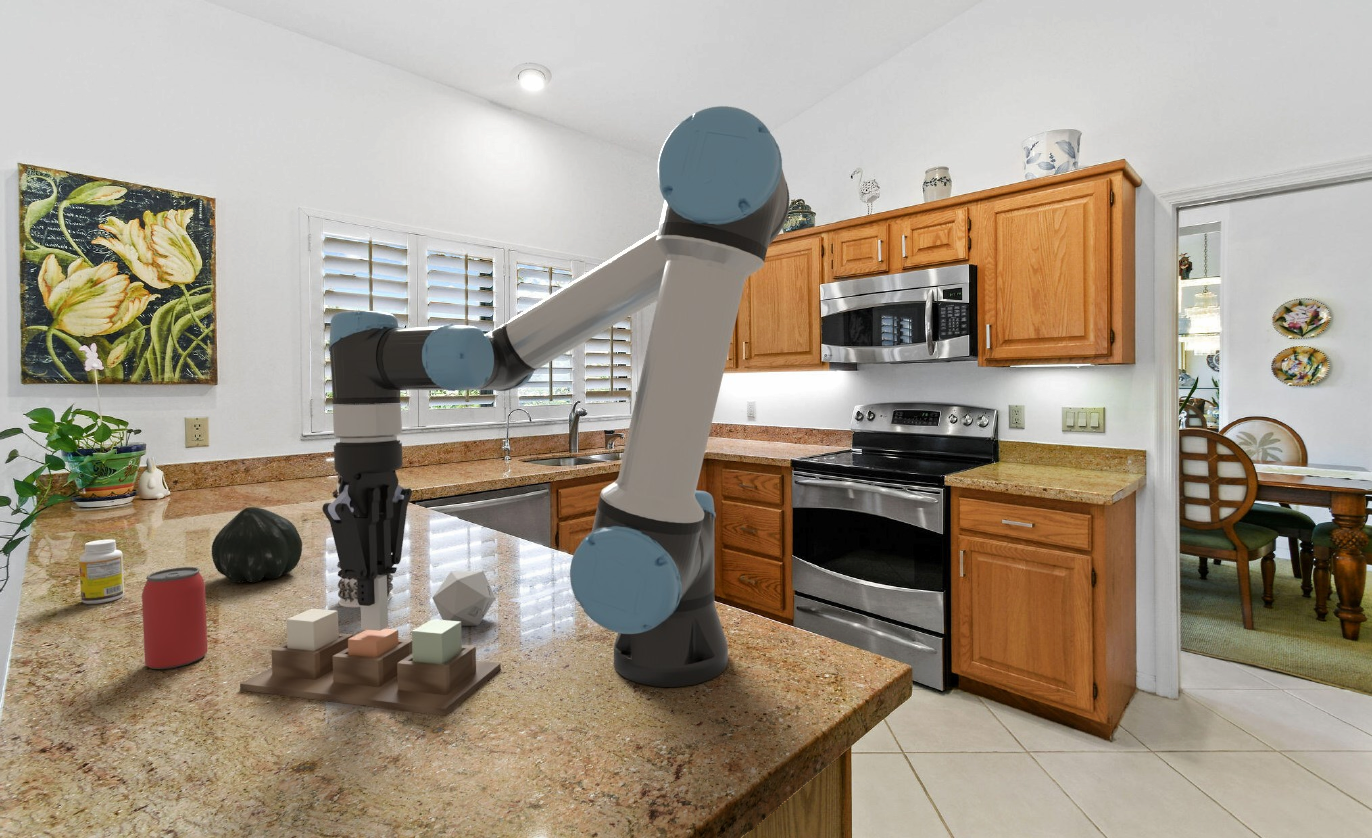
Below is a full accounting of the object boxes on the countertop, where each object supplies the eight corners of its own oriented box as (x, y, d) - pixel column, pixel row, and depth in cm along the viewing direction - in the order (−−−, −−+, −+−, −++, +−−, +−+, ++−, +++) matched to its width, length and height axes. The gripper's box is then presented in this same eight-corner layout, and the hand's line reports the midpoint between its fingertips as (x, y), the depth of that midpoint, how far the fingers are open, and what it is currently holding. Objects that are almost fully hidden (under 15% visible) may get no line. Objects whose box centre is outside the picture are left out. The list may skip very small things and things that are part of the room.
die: (459, 641, 93) (498, 583, 95) (412, 610, 94) (452, 553, 96) (476, 640, 100) (512, 587, 103) (433, 611, 102) (469, 559, 104)
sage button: (461, 653, 78) (461, 621, 78) (442, 666, 74) (441, 633, 74) (433, 650, 79) (432, 619, 79) (412, 663, 75) (411, 630, 75)
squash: (296, 534, 135) (241, 489, 126) (330, 547, 127) (273, 499, 118) (240, 590, 127) (177, 546, 119) (272, 608, 119) (207, 561, 110)
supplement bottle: (90, 597, 111) (87, 539, 111) (130, 593, 114) (127, 536, 113) (74, 607, 106) (71, 547, 106) (116, 602, 109) (113, 543, 108)
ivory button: (338, 640, 82) (337, 610, 82) (314, 653, 79) (313, 621, 78) (313, 638, 83) (312, 608, 83) (287, 650, 79) (286, 619, 79)
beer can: (138, 675, 80) (134, 582, 80) (153, 656, 86) (149, 569, 86) (202, 665, 83) (198, 575, 83) (212, 647, 89) (209, 563, 89)
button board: (500, 669, 82) (500, 638, 82) (445, 715, 70) (444, 680, 70) (318, 650, 88) (317, 621, 88) (240, 689, 76) (238, 657, 76)
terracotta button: (399, 660, 81) (398, 629, 80) (376, 674, 77) (376, 642, 76) (372, 657, 81) (371, 627, 81) (348, 671, 78) (347, 639, 77)
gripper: (379, 435, 85) (384, 608, 86) (299, 443, 72) (307, 645, 73) (428, 435, 83) (433, 611, 84) (355, 443, 71) (362, 651, 72)
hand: (374, 627), depth 79 cm, fingers closed
